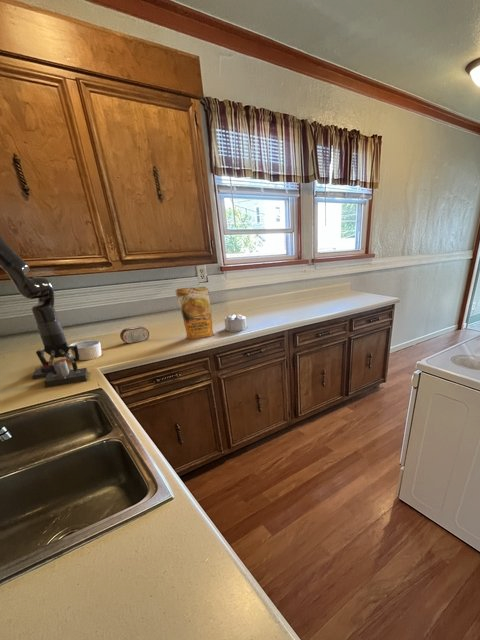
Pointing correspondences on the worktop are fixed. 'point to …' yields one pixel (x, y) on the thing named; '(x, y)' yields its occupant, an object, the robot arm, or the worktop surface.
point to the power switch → (44, 371)
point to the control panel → (66, 378)
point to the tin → (134, 334)
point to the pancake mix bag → (196, 311)
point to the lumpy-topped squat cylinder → (235, 323)
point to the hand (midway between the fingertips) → (65, 372)
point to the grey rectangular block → (64, 368)
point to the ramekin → (88, 349)
